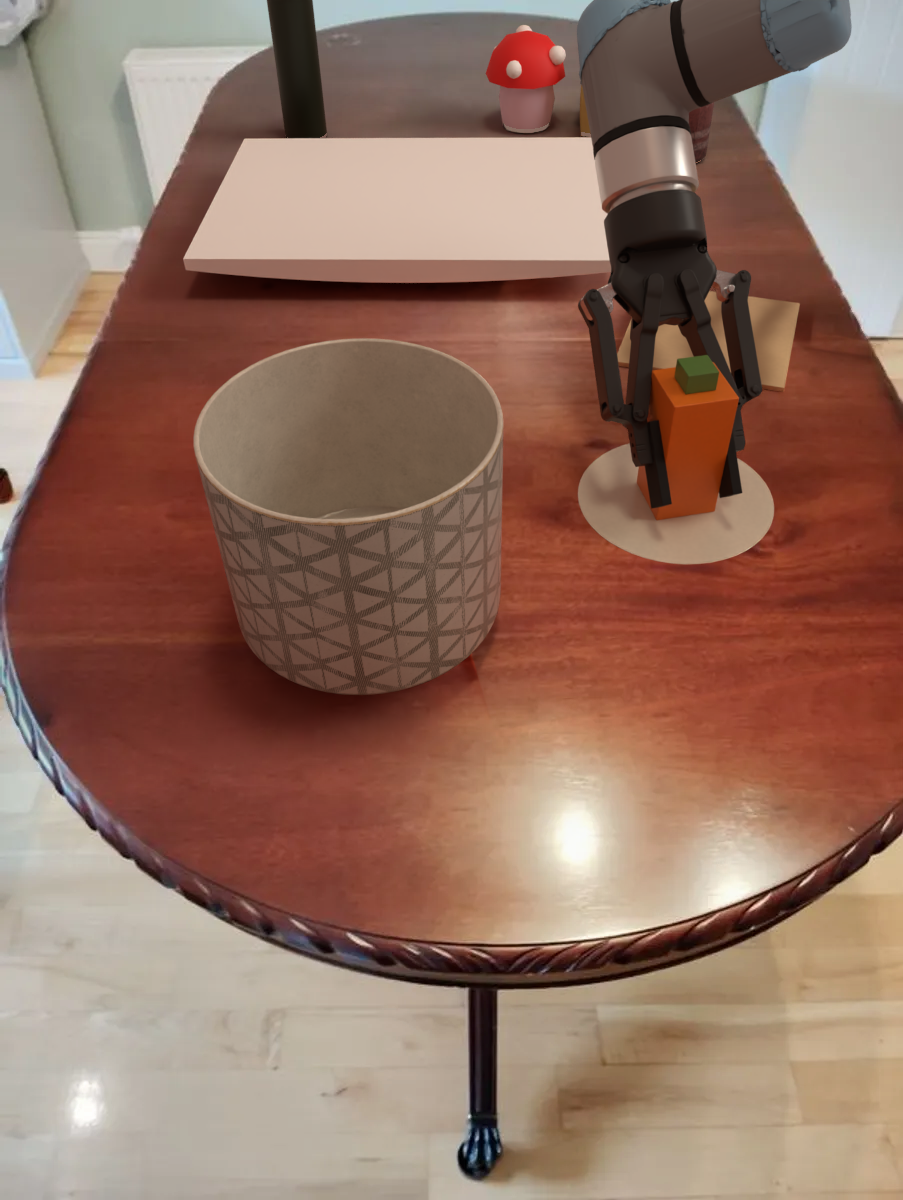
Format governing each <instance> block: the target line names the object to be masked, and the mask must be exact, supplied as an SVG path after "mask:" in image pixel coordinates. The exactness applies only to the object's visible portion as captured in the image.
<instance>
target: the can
mask: <svg viewBox="0 0 903 1200" xmlns="http://www.w3.org/2000/svg"><path fill="white" fill-rule="evenodd" d="M714 107H715V102H713V103H711V104H709V105H706V106H703V107H700V108H697V109H695V110H693V111H691V112H689V125H690V131H691V138H692V145H693V151H694V157H695V162H698V161H700V160H702V159H703V158H704V159H705V157H706V156H707V151H708V145H709V139H710V132H711V126H712V119H713V113H714ZM704 159H703V160H704ZM703 160H702V161H703Z"/></svg>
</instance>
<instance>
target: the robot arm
mask: <svg viewBox="0 0 903 1200" xmlns="http://www.w3.org/2000/svg"><path fill="white" fill-rule="evenodd" d="M851 12H852V11H851V3H850V0H673V1H671V0H592V1H591V2H590V3H589V4H588V5H587V6H586V7H585V8H584V10H583V11H582V13H581V14H580V17H579V19H578V22H577V26H576V42H577V51H578V61H579V63H578V64H579V69H578V70H579V71H578V76H579V81H580V86H581V85H582V88H583V94H584V99H585V105H586V111H587V117H588V122H589V128H590V134H591V140H592V145H593V154H594V160H595V167H596V173H597V180H598V186H599V193H600V199H601V205H602V210H603V211H604V212H606V213H607V216H606V218H605V220H604V228H605V234H606V240H607V247H608V253H609V260H610V264H611V272H610V275H609V278H608V280H607V284H605V285H604V286H601V287H599V288H598V289H597V288H591V289H589V290H587V291H586V292H585V293H584V295H583V296H582V297H581V298H580V299H579V300H578V303H577V308H578V311H579V313H580V315H581V316H582V319H583V320H584V323H585V324H586V326H587V328H588V333H589V334H588V335H589V341H590V348H591V355H592V361H593V371H594V377H595V385H596V391H597V398H598V405H599V412H600V417H601V419H602V420H603V421H605V422H606V423H611V422H613V423H618V424H621V425H622V427H624V428H625V429H626V430H627V435H628V436H627V437H628V442H629V443H630V448H631V456H632V461H633V463H634V465H635V467H639V466H645V471H646V478H647V484H648V491H649V497H650V504H651V509H652V508H659V507H663V506H667V505H670V504H672V501H671V495H670V488H669V482H668V475H667V469H666V463H665V457H664V451H663V444H662V438H661V431H660V425H659V420H655V421H649V422H647V418H648V413H649V402H650V392H651V381H652V377H651V375H652V370H653V359H654V349H655V338H656V333H657V331H658V327H659V326H661V325H663V324H667V325H678V327H679V329H680V332H681V334H682V335H683V336H684V337H685V338H686V339H687V342H688V344H689V347H690V349H691V351H692V354H693V356H694V357H695V356H702V355H708V356H709V358H710V359H711V361H712V362H714V363H715V365H716V366H717V367H718V369H719V370H720V372H721V373H722V375H723V376H724V377H725V379H726V380H727V382H728V383H729V384H730V386H731V387H732V389H733V390H734V392H735V393H736V394H737V396H738V397H739V401H738V405H737V410H736V415H735V419H734V424H733V429H732V433H731V438H730V442H729V447H728V452H727V456H726V461H725V466H724V470H723V475H722V479H721V484H720V489H719V497H720V498H723V497H729V496H733V495H737V494H741V493H742V487H741V480H740V474H739V467H738V461H737V458H738V455H737V453H738V452H741V451H743V450H745V447H746V446H745V445H746V437H745V432H744V423H743V416H742V408H743V406H744V405H745V404H747V403H748V402H750V401H752V400H753V399H756V398H757V397H759V396H760V395H762V392H763V389H762V384H761V378H760V372H759V366H758V360H757V354H756V348H755V342H754V336H753V330H752V324H751V318H750V312H749V306H748V296H749V294H750V289H751V285H752V284H751V283H752V275H751V273H750V272H749V271H748V270H746V269H741V270H739V271H738V272H737V273H734V272H729V271H724V270H722V269H721V270H720V269H717V266H716V265H717V264H716V263H715V262H714V260H713V259H712V258H711V256H710V254H709V250H708V236H707V229H706V223H705V222H706V221H705V215H704V210H703V204H702V198H701V196H699V195H698V194H697V193H696V192H697V190H698V189H699V187H700V182H699V176H698V170H697V164H696V163H695V157H694V151H693V145H692V138H691V131H690V125H689V112H691V111H693V110H695V109H697V108H700V107H703V106H706V105H709V104H711V103H713V102H714V103H715V102H718V101H720V100H723V99H726V98H728V97H731V96H733V95H736V94H739V93H741V92H744V91H746V90H750V89H752V88H754V87H757V86H760V85H762V84H765V83H767V82H768V83H769V82H770V81H773V80H775V79H778V78H781V77H782V76H786V75H789V74H791V73H796V72H801V71H804V70H806V69H807V68H809V67H810V66H811V65H812V64H815V63H818V62H820V61H821V60H823V59H825V58H827V57H829V56H831V55H833V54H836V53H838V52H839V51H841V50H842V49H843V48H844V47H845V46H846V45H847V44H848V42H849V40H850V38H851V34H852V27H853V26H852V18H851V16H852V13H851ZM712 288H714V290H715V292H716V295H717V299H718V300H719V301H721V302H722V304H721V314H722V321H723V327H724V333H725V339H726V345H727V351H728V357H729V363H730V369H731V372H730V369H729V367H728V365H727V362H726V360H725V357H724V355H723V352H722V350H721V348H720V345H719V343H718V340H717V338H716V336H715V333H714V331H713V328H712V326H711V316H710V313H709V311H708V309H707V306H706V304H705V299H706V297H707V295H708V293H709V291H711V289H712ZM613 300H614V301H616V303H617V304H618V305H619V306H620V307H621V308H622V309H623V310H624V311H625V312H626V313H627V314H628V315H629V316H630V317H631V318H632V319H631V318H630V320H631V329H630V340H631V348H630V359H629V367H628V371H627V382H626V393H625V401H624V394H623V393H624V392H623V387H622V386H623V385H622V379H621V373H620V366H619V364H618V357H617V353H618V350H617V345H616V337H615V332H614V330H615V329H614V323H613V318H612V316H611V315H612V314H611V313H612V312H613V311H614V301H613ZM629 443H628V444H629Z"/></svg>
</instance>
